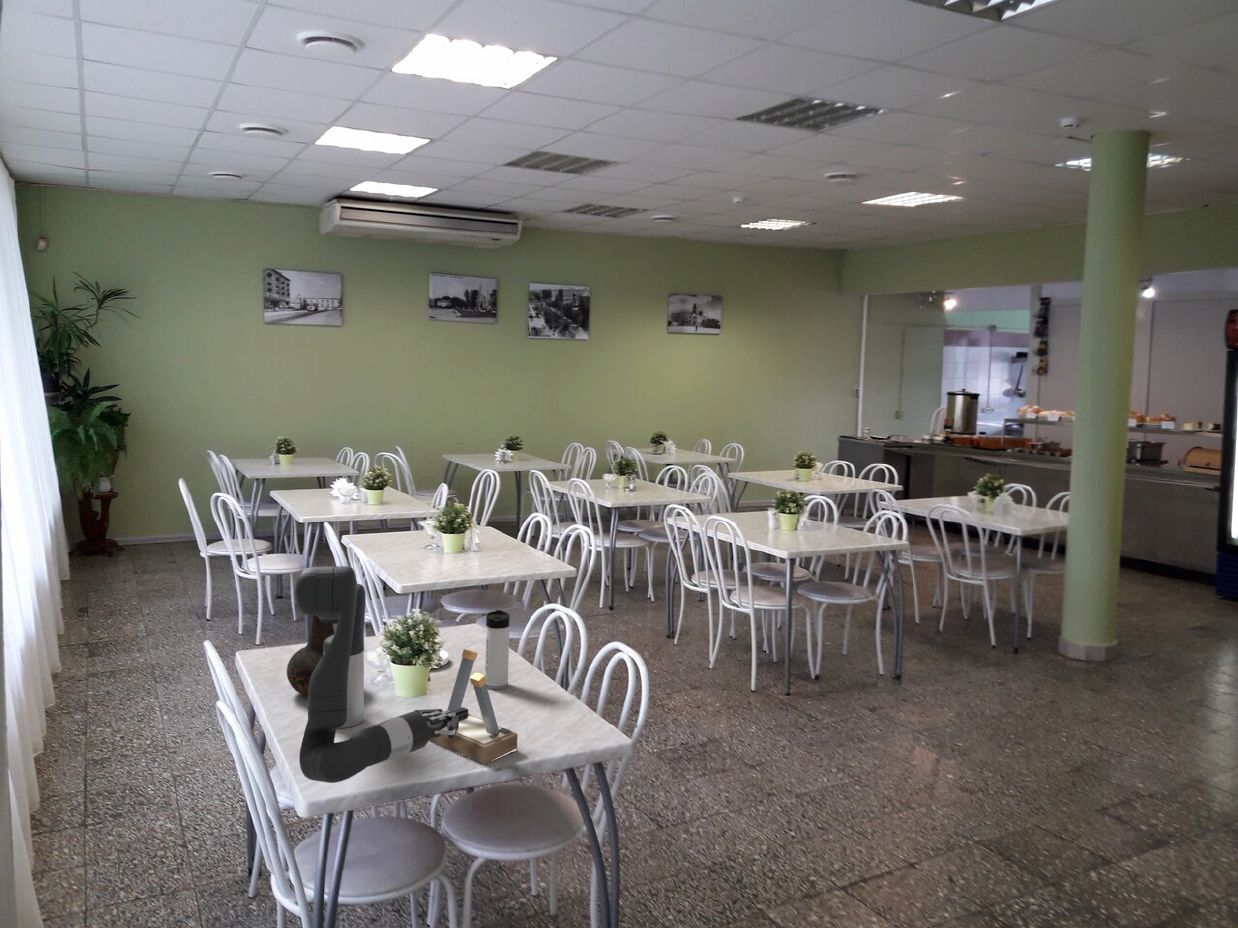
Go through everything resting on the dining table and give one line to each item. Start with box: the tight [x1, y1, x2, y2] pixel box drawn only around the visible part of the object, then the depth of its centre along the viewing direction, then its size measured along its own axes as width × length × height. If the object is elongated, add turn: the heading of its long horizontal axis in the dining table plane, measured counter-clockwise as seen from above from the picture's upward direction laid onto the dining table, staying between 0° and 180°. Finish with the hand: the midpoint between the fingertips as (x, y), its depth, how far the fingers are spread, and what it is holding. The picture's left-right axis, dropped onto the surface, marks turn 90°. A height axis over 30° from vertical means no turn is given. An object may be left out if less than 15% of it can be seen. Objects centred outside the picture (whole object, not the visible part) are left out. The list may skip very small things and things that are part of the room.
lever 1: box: [446, 649, 478, 711], centre depth 212 cm, size 3×2×15 cm
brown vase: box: [286, 615, 335, 698], centre depth 234 cm, size 18×18×28 cm
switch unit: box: [428, 712, 519, 765], centre depth 207 cm, size 19×10×5 cm, turn 51°
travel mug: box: [484, 609, 510, 691], centre depth 244 cm, size 6×7×20 cm
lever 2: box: [469, 672, 499, 736], centre depth 200 cm, size 3×2×15 cm
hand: (465, 712), depth 195 cm, fingers closed
